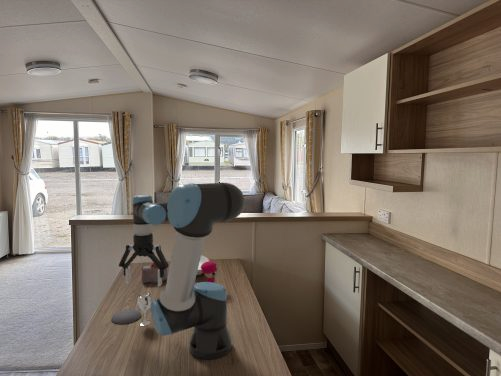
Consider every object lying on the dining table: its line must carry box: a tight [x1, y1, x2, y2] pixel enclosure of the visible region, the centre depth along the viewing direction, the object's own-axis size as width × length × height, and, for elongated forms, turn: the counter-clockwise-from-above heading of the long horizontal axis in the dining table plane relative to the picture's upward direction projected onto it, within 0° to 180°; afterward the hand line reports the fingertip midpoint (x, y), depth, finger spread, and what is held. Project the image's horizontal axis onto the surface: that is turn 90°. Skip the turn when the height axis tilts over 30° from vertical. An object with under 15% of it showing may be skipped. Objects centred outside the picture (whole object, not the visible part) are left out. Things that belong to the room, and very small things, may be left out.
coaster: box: [111, 309, 142, 325], centre depth 143 cm, size 12×12×1 cm
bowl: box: [196, 254, 210, 276], centre depth 202 cm, size 30×15×6 cm, turn 13°
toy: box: [201, 260, 218, 283], centre depth 173 cm, size 8×8×15 cm
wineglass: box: [136, 292, 153, 327], centre depth 138 cm, size 6×6×12 cm
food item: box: [141, 262, 169, 284], centre depth 186 cm, size 14×8×10 cm, turn 111°
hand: (144, 284), depth 137 cm, fingers open, 13 cm apart
